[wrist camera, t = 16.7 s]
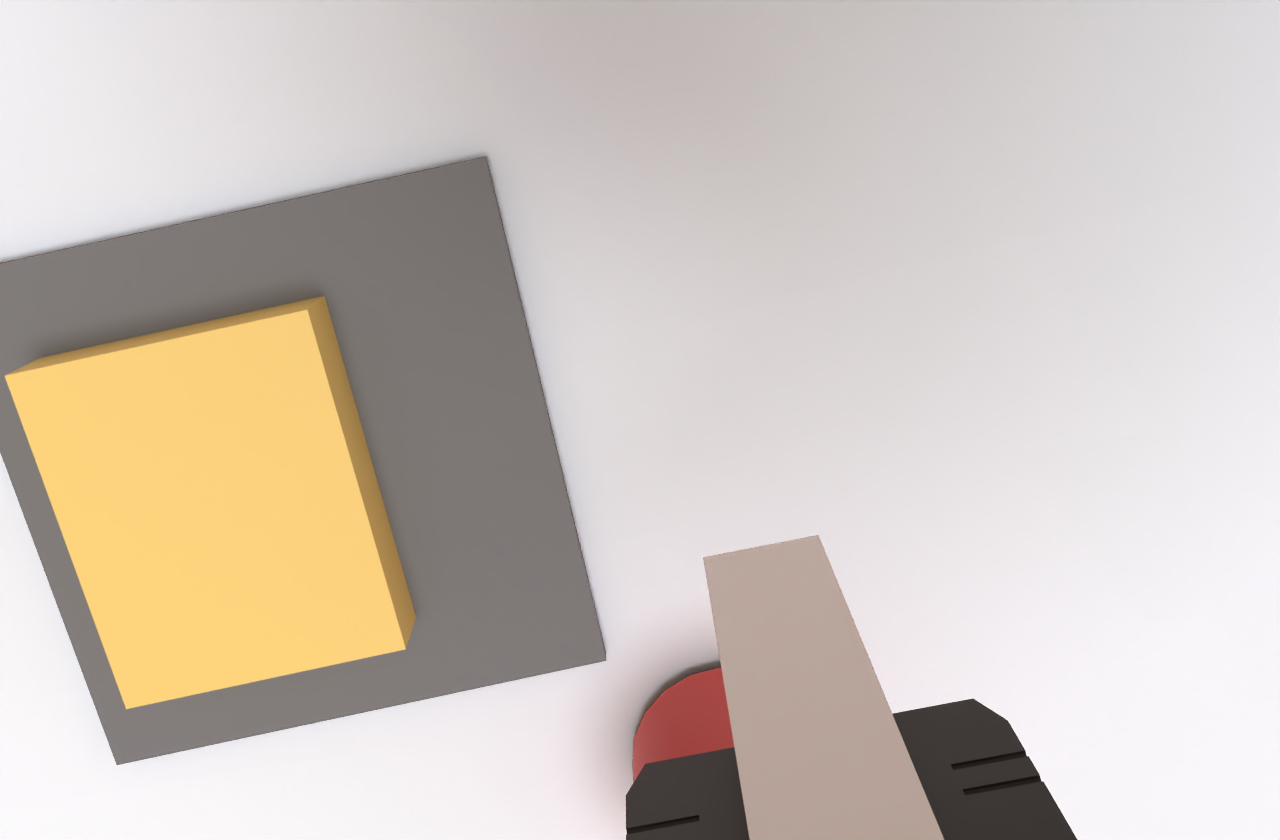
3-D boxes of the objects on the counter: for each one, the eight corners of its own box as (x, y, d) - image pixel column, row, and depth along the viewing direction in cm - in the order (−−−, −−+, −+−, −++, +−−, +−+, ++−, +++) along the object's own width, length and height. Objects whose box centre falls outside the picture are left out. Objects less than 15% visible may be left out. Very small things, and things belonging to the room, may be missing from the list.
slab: (324, 295, 37) (40, 357, 38) (307, 309, 35) (4, 375, 35) (416, 616, 40) (152, 673, 40) (405, 649, 38) (125, 709, 38)
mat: (-55, 275, 37) (-65, 278, 37) (486, 156, 37) (484, 157, 37) (123, 755, 42) (117, 765, 41) (605, 652, 42) (606, 660, 41)
